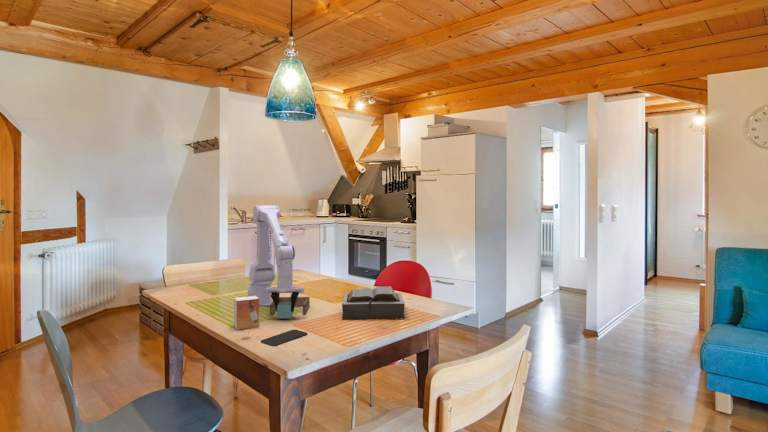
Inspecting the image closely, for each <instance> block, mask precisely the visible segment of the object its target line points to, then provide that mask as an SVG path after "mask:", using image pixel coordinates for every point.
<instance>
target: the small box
mask: <svg viewBox="0 0 768 432" xmlns="http://www.w3.org/2000/svg"><path fill="white" fill-rule="evenodd" d="M233 326H234V328H235V330H237V331H238V330H245V329H255V328H256V329H257V328H260V306H259V298H258V297H257V296H249V297H248V296H242V297H241V296H240V297H234V298H233Z"/></svg>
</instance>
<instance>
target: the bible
mask: <svg viewBox="0 0 768 432" xmlns="http://www.w3.org/2000/svg"><path fill="white" fill-rule="evenodd" d="M341 306H342V307H341V308H342V309H341V310H342V317H341V320H342V321H352V320H353V321H354V320H356V321H357V320H358V321H360V320H361V321H363V320H365V321H366V319H379V320H397V319H396V318H404V319H405V315H404V314H405V301H404V299H403V295H402V293H400V292H397V293H396V292H395V291H394V288H393V287H392V286H390V285H389V286H376V287H373V289H372V288H352V290H351V291H350V292H349V293H344V294H343V298H342V302H341Z"/></svg>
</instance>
